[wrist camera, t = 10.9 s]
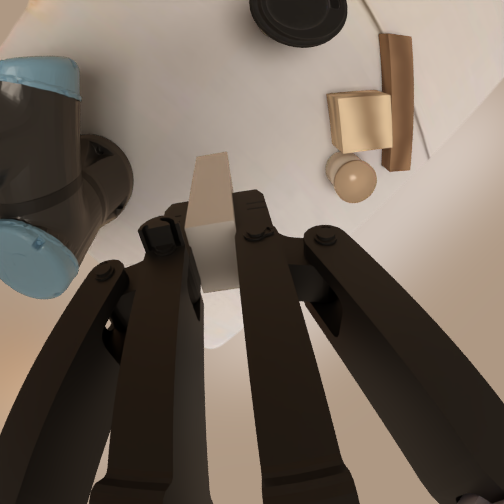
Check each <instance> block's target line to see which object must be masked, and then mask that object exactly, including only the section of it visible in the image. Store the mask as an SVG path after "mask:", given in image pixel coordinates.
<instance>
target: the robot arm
mask: <svg viewBox="0 0 504 504" xmlns="http://www.w3.org/2000/svg"><path fill="white" fill-rule="evenodd" d="M80 101H82V97H81V96H80V71H79V67H78V65H77V63H76V62H75V61H74V60H72V59H70V58H67V57H59V56H31V57H18V58H10V59H6V60H0V279H1V280H2V281H3V282H4V283H5V284H7V285H8V286H10V287H11V288H12V289H14V290H15V291H17V292H19V293H21V294H23V295H26V296H29V297H32V298H36V299H51V298H55V297H58V296H60V295H61V294H62V293H63V292H64V291H65V290H66V289H67V288H68V286H69V285H70V283H71V282H72V280H73V279H74V277H76V275H77V274H78V271H79V270H78V269H79V267H80V265H81V263H82V261H83V259H84V257H85V255H86V253H87V251H88V249H89V247H90V245H91V244H92V242H93V240H94V238H95V236H96V235H97V233H98V231H99V229H100V228H101V227H103V226H104V225H106V224H107V223H109V222H111V221H112V220H114V219H115V218H116V217H118V216H119V215H120V213H121V212H122V211H123V210H124V208H125V206H126V205H127V203H128V201H129V199H130V197H131V194H132V190H133V173H132V169H131V166H130V163H129V161H128V159H127V157H126V156H125V154H124V153H123V152H122V150H121V149H120V148H119V147H118V146H117V145H116V144H114V143H113V142H111V141H110V140H108V139H106V138H104V137H101V136H98V135H90V134H88V135H80ZM138 233H139V236H140V238H141V241H142V244H143V246H144V249H145V252H146V253H145V257H144V260H143V261H141V262H139V263H137V264H135V265H132V266H130V267H127V268H124V265H123V263H122V262H120V261H119V260H107V261H104V262H102V263H100V264H99V265H97V266H96V267H94V268H93V269H92V271H91V272H90V273H89V274H88V276H87V277H86V279H85V280H84V282H83V283H82V284H81V286H80V288H79V289H78V290H77V292H76V294H75V295H74V297H73V298H72V300H71V301H70V303H69V304H68V306H67V307H66V309H65V311H64V312H63V314H62V315H61V317H60V319H59V320H58V322H57V324H56V325H55V327H54V328H53V330H52V332H51V334H50V335H49V337H48V339H47V340H46V342H45V344H44V346H43V347H42V350H41V351H40V353H39V355H38V356H37V358H36V360H35V362H34V364H33V366H32V368H31V370H30V371H29V374H28V375H27V377H26V379H25V381H24V383H23V385H22V388H21V389H20V391H19V394H18V396H17V398H16V400H15V402H14V404H13V406H12V409H11V411H10V413H9V415H8V418H7V420H6V422H5V425H4V427H3V429H2V432H1V434H0V504H87V502H88V498H89V495H90V500H89V504H213V502H212V500H211V496H210V491H209V476H208V461H207V442H206V422H205V421H206V420H205V391H204V303H203V300H202V296H201V293H200V290H201V286H202V289H203V293H208V292H215V291H222V290H229V289H235V288H240V296H241V305H242V314H243V323H244V332H245V341H246V350H247V359H248V368H249V376H250V385H251V393H252V401H253V410H254V418H255V426H256V434H257V442H258V449H259V457H260V465H261V473H262V498H263V504H360V503H359V499H358V495H357V491H356V487H355V484H354V480H353V478H352V475H351V473H350V471H349V470H348V468H347V467H346V466H345V464H344V462H343V460H342V458H341V454H340V450H339V446H338V442H337V439H336V435H335V430H334V426H333V423H332V419H331V415H330V411H329V407H328V404H327V400H326V396H325V392H324V388H323V385H322V381H321V377H320V373H319V370H318V367H317V363H316V359H315V355H314V352H313V348H312V345H311V341H310V338H309V334H308V331H307V327H306V324H305V320H304V317H303V313H302V310H301V306H300V303H299V301H304V303H305V306H306V307H307V309H308V310H309V312H310V313H311V315H312V316H313V318H314V319H315V321H316V322H317V324H318V325H319V327H320V328H321V329H322V331H323V333H324V334H325V335H326V337H327V338H328V340H329V341H330V343H331V344H332V346H333V347H334V349H335V350H336V352H337V353H338V355H339V356H340V358H341V359H342V361H343V362H344V364H345V365H346V367H347V368H348V370H349V371H350V373H351V374H352V376H353V377H354V379H355V380H356V382H357V383H358V385H359V386H360V388H361V389H362V391H363V393H364V394H365V395H366V397H367V399H368V400H369V402H370V403H371V405H372V406H373V408H374V409H375V411H376V412H377V414H378V415H379V417H380V418H381V420H382V422H383V423H384V425H385V426H386V428H387V429H388V431H389V432H390V434H391V435H392V437H393V438H394V440H395V442H396V443H397V445H398V446H399V448H400V449H401V451H402V452H403V454H404V456H405V457H406V459H407V460H408V462H409V463H410V465H411V466H412V468H413V470H414V471H415V473H416V474H417V476H418V477H419V479H420V481H421V482H422V483H423V485H424V486H425V487H426V489H427V490H428V492H429V493H430V494H431V496H432V497H433V498H434V499H435V500H436V501H437V502H438V503H439V504H504V403H503V402H502V401H501V399H500V398H499V397H498V395H497V394H496V393H495V392H494V390H493V389H492V388H491V386H490V385H489V384H488V383H487V382H486V380H485V379H484V378H483V376H482V375H480V373H479V372H478V370H477V369H476V368H475V367H474V365H473V364H472V363H471V362H470V361H469V360H468V358H467V357H466V356H465V355H464V354H463V352H461V350H460V349H459V348H458V347H457V346H456V344H455V343H454V342H453V341H452V340H451V339H450V338H449V336H448V335H447V334H446V333H445V332H444V331H443V330H442V329H441V328H440V326H439V325H438V324H437V323H436V322H435V321H434V320H433V319H432V318H431V317H430V316H429V315H428V313H426V311H425V310H424V309H423V308H422V307H421V306H420V305H419V304H418V303H417V302H416V301H415V300H414V299H413V298H412V297H411V296H410V295H409V294H408V293H407V292H406V290H405V289H403V288H402V286H401V285H400V284H399V283H397V281H396V280H395V279H394V278H393V277H391V275H389V273H388V272H387V271H386V270H385V269H383V268H382V266H380V265H379V264H378V263H377V262H376V261H375V260H374V259H373V258H372V257H371V256H370V255H369V254H368V253H367V252H366V251H365V250H364V249H363V248H362V247H360V245H359V244H357V243H356V242H355V241H354V240H353V239H352V238H351V237H350V236H349V235H348V234H347V233H346V232H344V231H343V230H341V229H340V228H338V227H335V226H331V225H319V226H314V227H312V228H310V229H308V230H307V231H306V232H305V233H304V238H293V237H287V236H284V235H281V234H279V233H278V231H277V229H276V228H275V227H274V226H273V225H272V221H271V218H270V215H269V212H268V208H267V205H266V202H265V199H264V196H263V194H262V193H261V192H259V191H258V190H256V189H255V190H249V191H242V192H236V193H233V187H232V180H231V174H230V168H229V162H228V156H227V152H222V153H216V154H210V155H205V156H199V157H197V158H196V163H195V168H194V174H193V179H192V185H191V191H190V197H189V201H188V202H182V203H177V204H172V205H171V206H170V207H169V208H168V209H167V210H166V211H165V214H164V216H159V217H155V218H152V219H150V220H148V221H146V222H145V223H144V224H143V225H141V226H140V228H139V229H138ZM108 319H109V320H110V321H111V325H110V327H109V328H108V329H106V327H105V325H106V323H107V321H108ZM110 430H111V434H110V444H109V455H108V468H107V473H106V475H105V477H104V478H103V479H101V480H100V481H98V482H97V483H95V485H94V486H93V488H92V485H93V482H94V479H95V475H96V472H97V469H98V466H99V463H100V459H101V456H102V454H103V451H104V447H105V445H106V442H107V439H108V436H109V433H110ZM91 488H92V490H91ZM90 492H91V494H90Z"/></svg>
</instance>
